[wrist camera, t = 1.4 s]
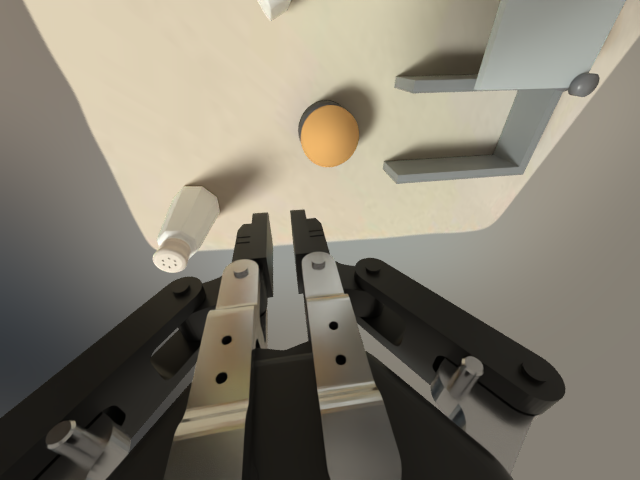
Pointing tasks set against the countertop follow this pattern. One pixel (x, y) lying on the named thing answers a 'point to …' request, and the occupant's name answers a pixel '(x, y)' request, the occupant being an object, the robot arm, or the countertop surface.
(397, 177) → the grey u-shaped frame
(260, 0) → the cable organizer
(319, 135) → the puck
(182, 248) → the pepper shaker
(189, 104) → the countertop surface
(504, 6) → the cover
